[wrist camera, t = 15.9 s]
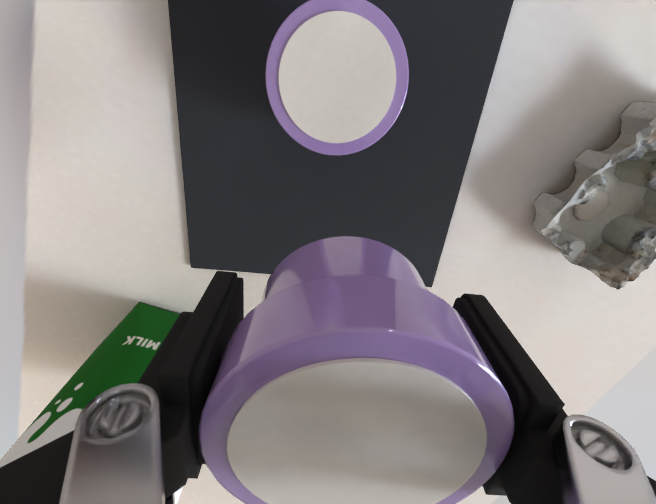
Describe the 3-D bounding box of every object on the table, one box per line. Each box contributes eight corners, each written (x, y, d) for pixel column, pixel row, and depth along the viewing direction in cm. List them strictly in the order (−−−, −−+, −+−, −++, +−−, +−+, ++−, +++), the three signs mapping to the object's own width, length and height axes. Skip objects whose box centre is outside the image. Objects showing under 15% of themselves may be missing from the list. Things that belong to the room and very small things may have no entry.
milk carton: (241, 322, 27) (80, 792, 9) (213, 396, 31) (58, 834, 13) (128, 287, 25) (-340, 775, 7) (113, 370, 29) (-227, 830, 11)
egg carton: (572, 267, 25) (614, 299, 22) (509, 210, 23) (545, 233, 20) (715, 154, 22) (795, 169, 18) (657, 73, 19) (735, 70, 16)
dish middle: (280, 8, 18) (266, -18, 13) (399, 24, 18) (424, 3, 14) (275, 135, 20) (263, 148, 16) (379, 146, 21) (394, 162, 16)
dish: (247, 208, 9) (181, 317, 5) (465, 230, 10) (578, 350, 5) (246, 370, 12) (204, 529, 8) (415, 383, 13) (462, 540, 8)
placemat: (143, -312, 13) (140, -320, 13) (576, -231, 14) (581, -236, 14) (192, 265, 25) (190, 267, 24) (430, 285, 26) (431, 287, 25)
